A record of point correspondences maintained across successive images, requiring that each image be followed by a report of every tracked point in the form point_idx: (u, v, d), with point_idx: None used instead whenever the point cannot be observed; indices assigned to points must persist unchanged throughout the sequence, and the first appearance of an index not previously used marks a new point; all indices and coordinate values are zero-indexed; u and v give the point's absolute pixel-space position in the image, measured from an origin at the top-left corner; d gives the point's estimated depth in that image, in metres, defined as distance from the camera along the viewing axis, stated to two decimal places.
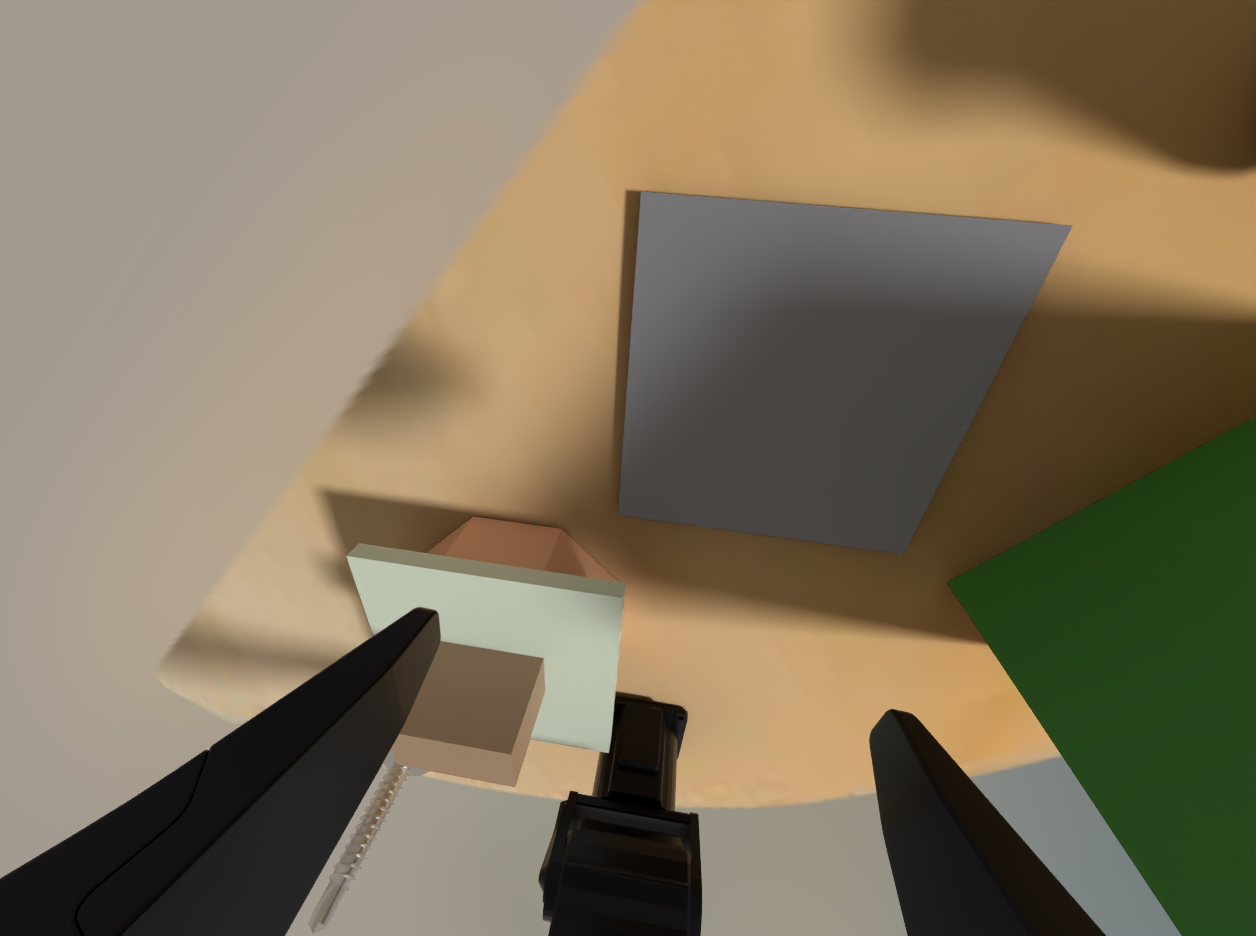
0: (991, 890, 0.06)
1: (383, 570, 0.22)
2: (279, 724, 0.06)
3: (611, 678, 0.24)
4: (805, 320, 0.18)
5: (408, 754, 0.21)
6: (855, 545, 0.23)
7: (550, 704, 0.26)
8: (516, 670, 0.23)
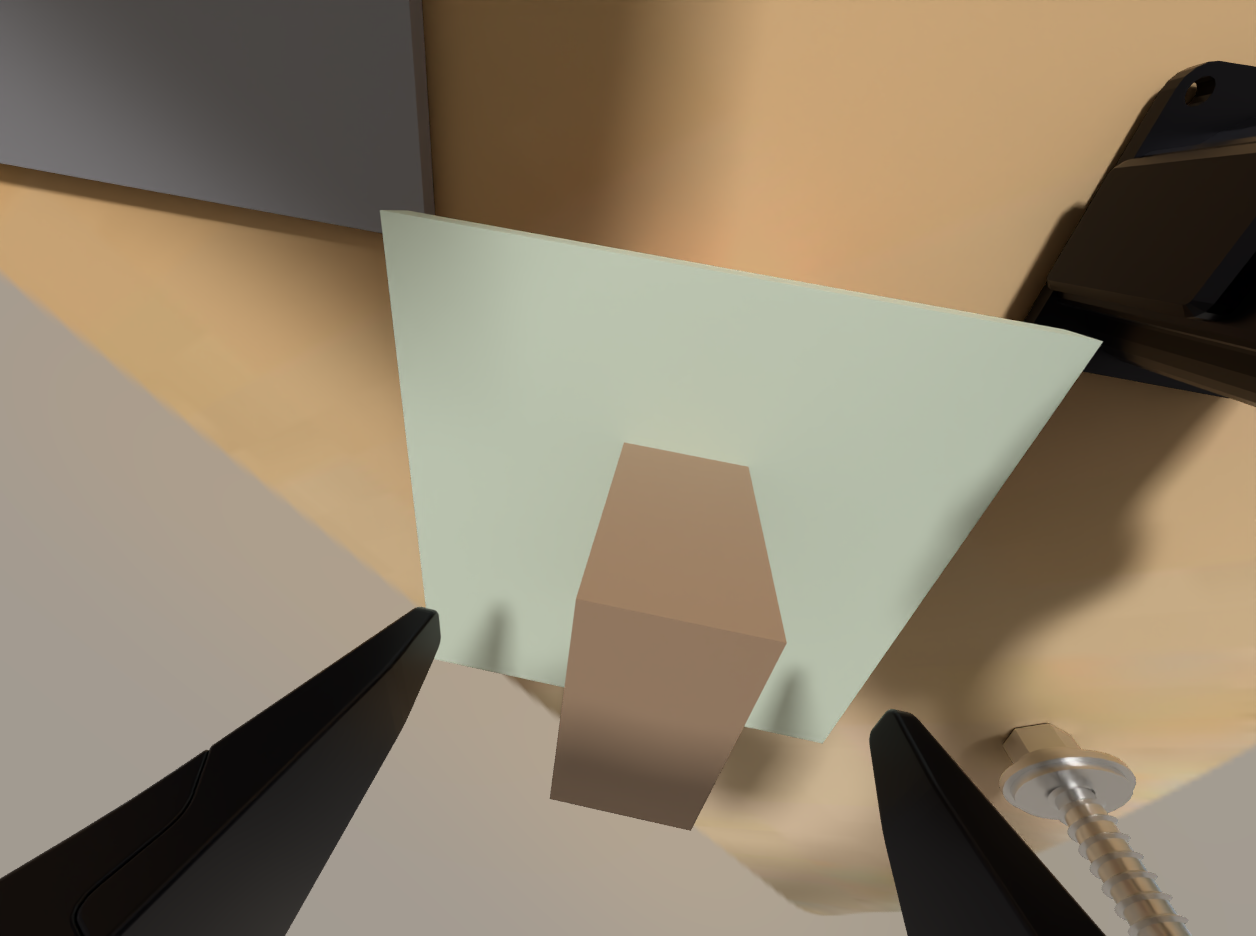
0: (991, 890, 0.06)
1: (446, 628, 0.15)
2: (279, 724, 0.06)
3: (690, 280, 0.09)
4: None
5: (638, 799, 0.09)
6: None
7: (806, 466, 0.10)
8: None
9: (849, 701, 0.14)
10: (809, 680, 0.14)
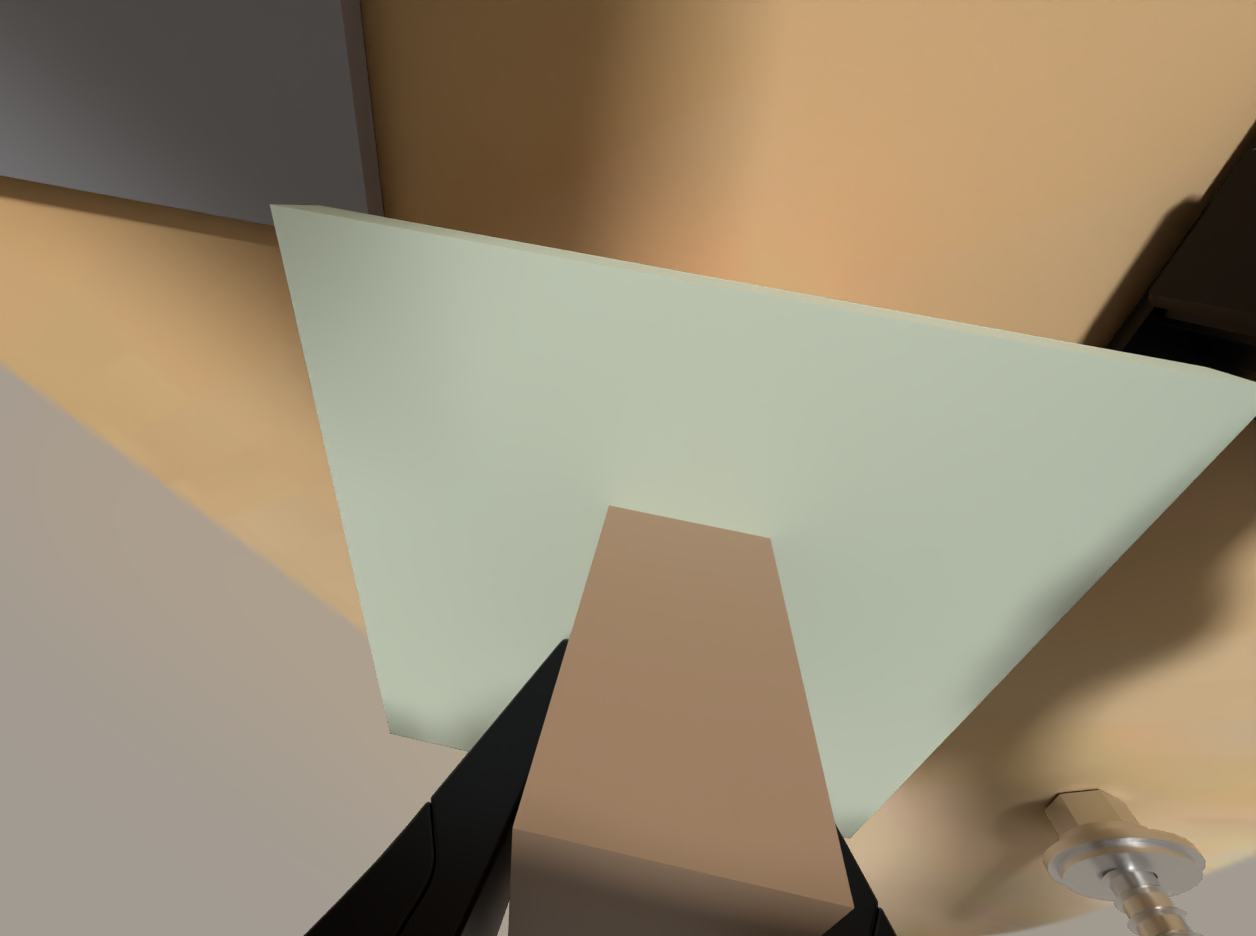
0: None
1: (403, 704, 0.13)
2: (487, 772, 0.06)
3: (695, 300, 0.06)
4: None
5: None
6: None
7: (846, 540, 0.08)
8: None
9: (885, 798, 0.12)
10: (837, 774, 0.11)
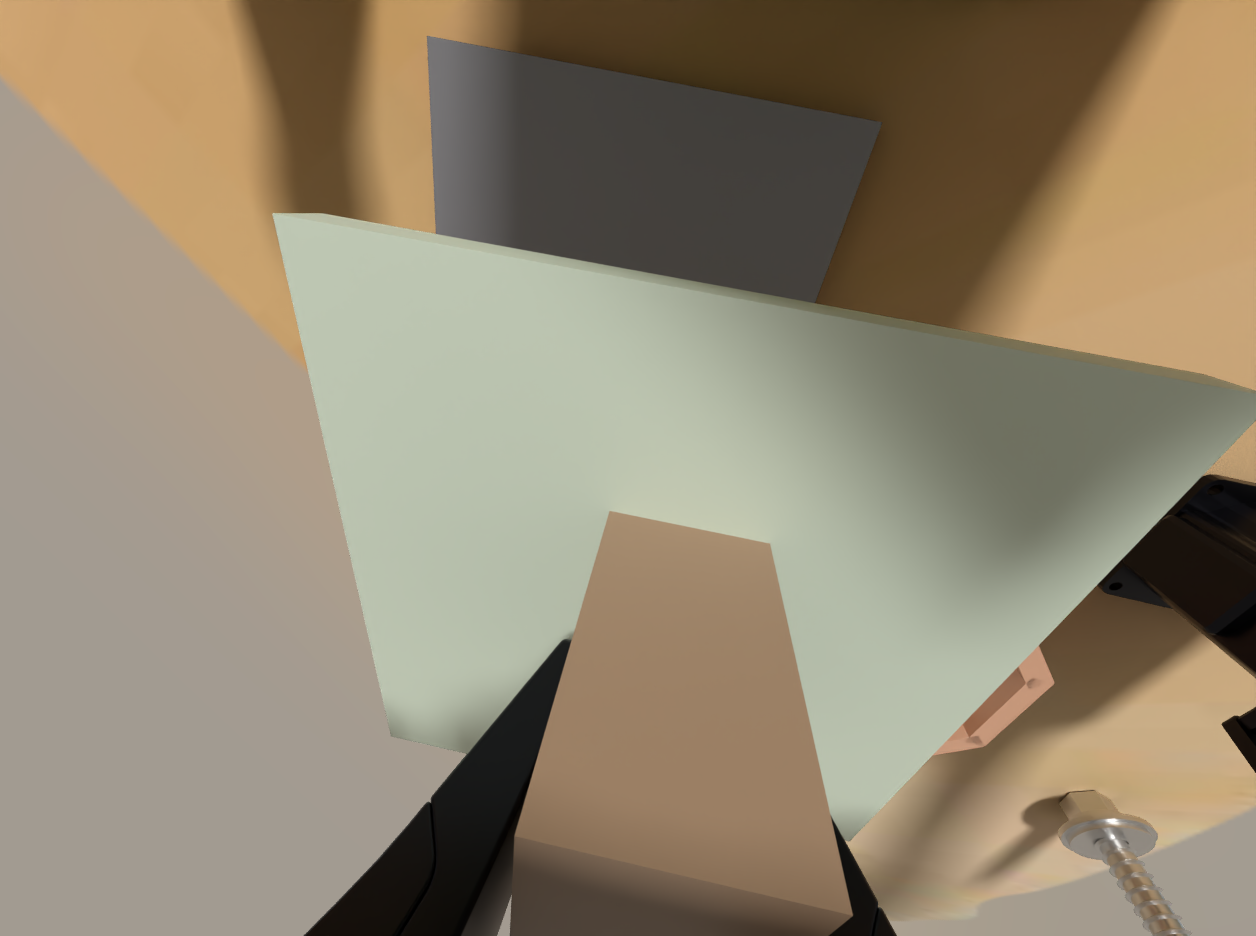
0: None
1: (404, 707, 0.13)
2: (487, 772, 0.06)
3: (695, 309, 0.06)
4: None
5: None
6: (843, 211, 0.15)
7: (845, 545, 0.08)
8: None
9: (884, 801, 0.12)
10: (837, 778, 0.11)
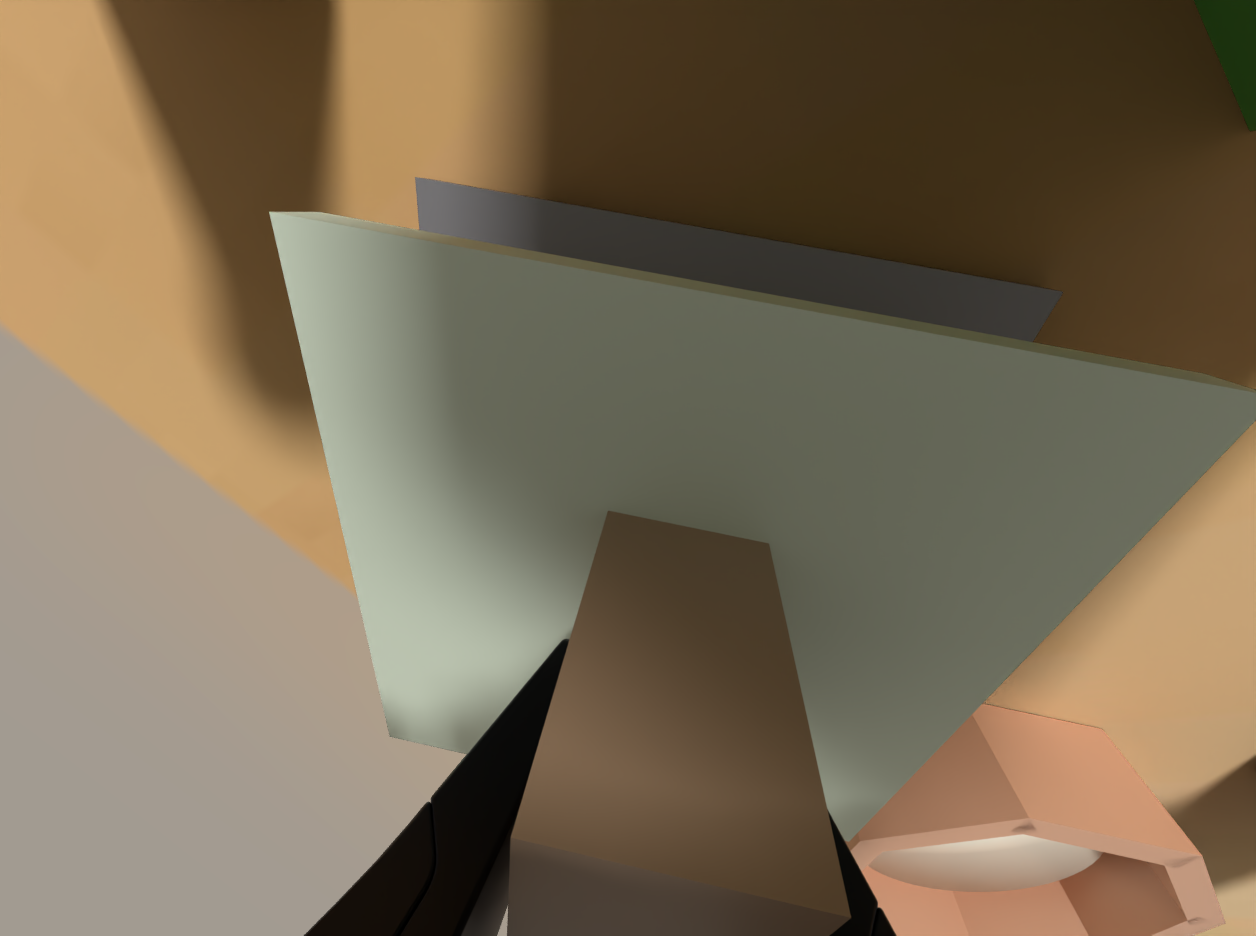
0: None
1: (403, 707, 0.13)
2: (487, 772, 0.06)
3: (694, 307, 0.06)
4: None
5: None
6: None
7: (845, 545, 0.08)
8: None
9: (884, 802, 0.12)
10: (836, 778, 0.11)
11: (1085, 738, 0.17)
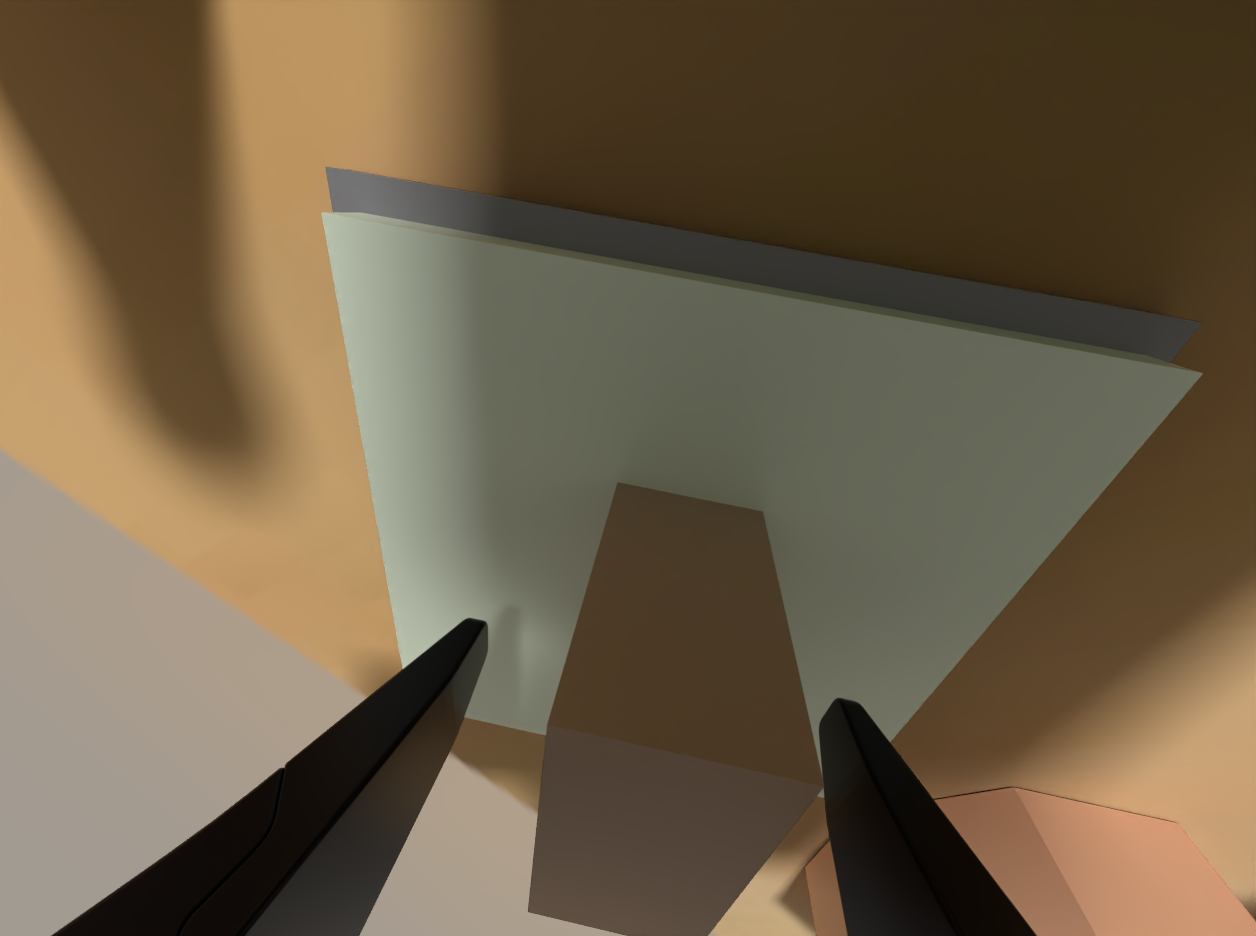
0: (914, 872, 0.06)
1: None
2: (350, 740, 0.06)
3: (695, 296, 0.07)
4: None
5: (632, 920, 0.07)
6: None
7: (830, 512, 0.09)
8: None
9: None
10: None
11: (1160, 837, 0.14)
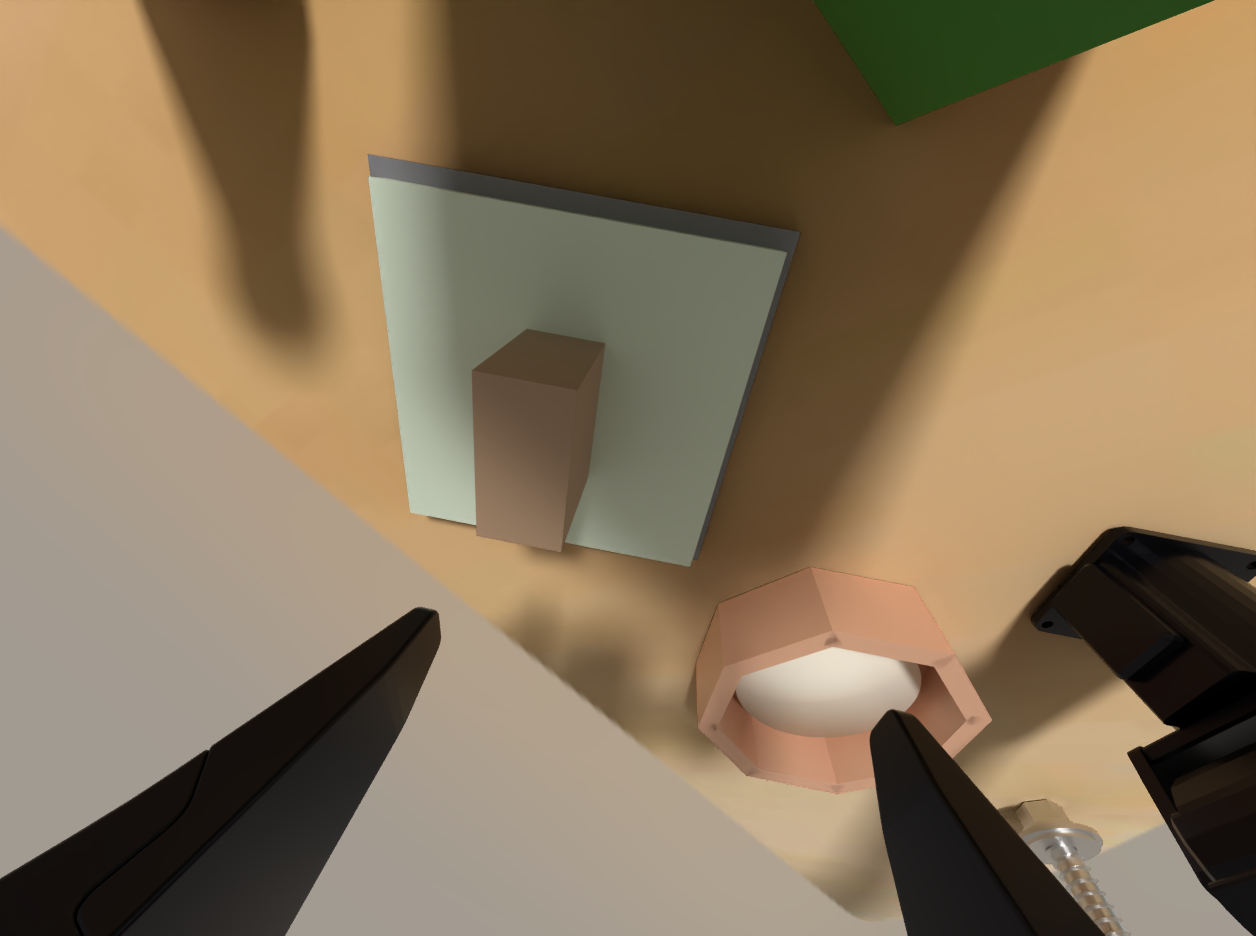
0: (991, 890, 0.06)
1: (419, 484, 0.21)
2: (279, 724, 0.06)
3: (553, 218, 0.15)
4: None
5: (526, 528, 0.15)
6: (771, 307, 0.16)
7: (640, 341, 0.16)
8: None
9: (700, 527, 0.20)
10: (671, 511, 0.20)
11: (898, 591, 0.22)
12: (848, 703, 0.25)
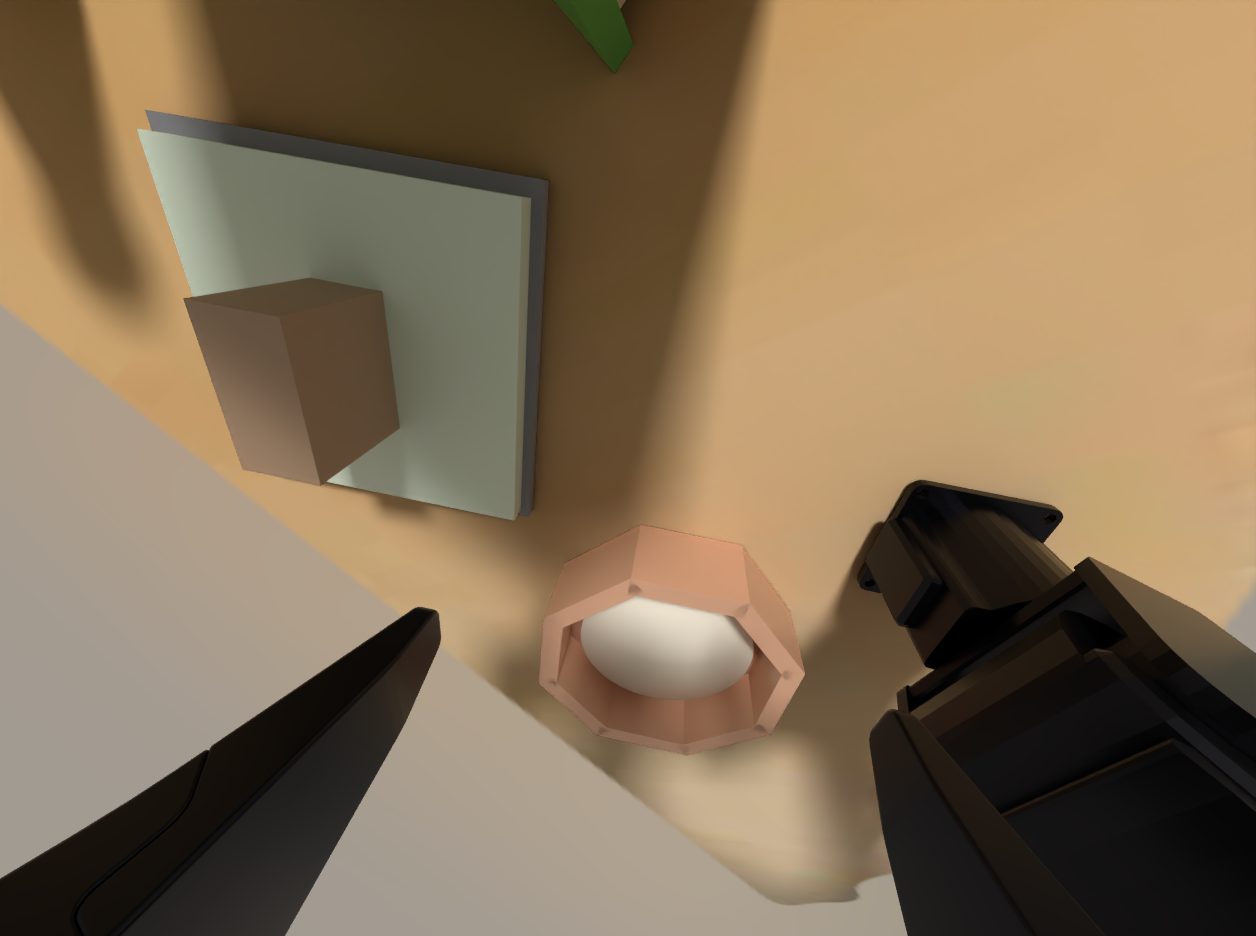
0: (991, 890, 0.06)
1: None
2: (279, 724, 0.06)
3: (307, 166, 0.16)
4: None
5: (282, 460, 0.16)
6: (536, 256, 0.17)
7: (413, 289, 0.17)
8: None
9: (513, 479, 0.21)
10: (482, 462, 0.21)
11: (722, 548, 0.23)
12: (691, 663, 0.25)
